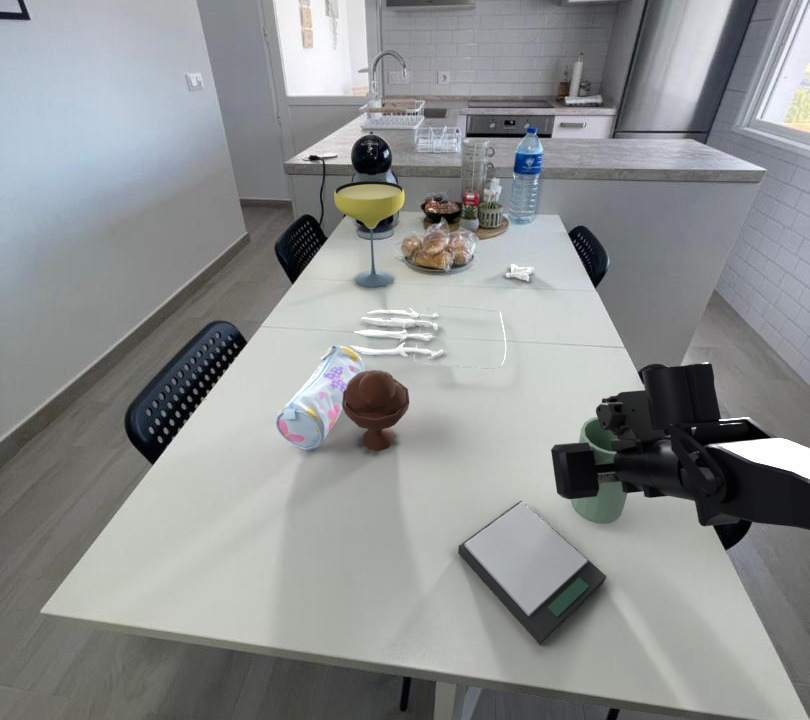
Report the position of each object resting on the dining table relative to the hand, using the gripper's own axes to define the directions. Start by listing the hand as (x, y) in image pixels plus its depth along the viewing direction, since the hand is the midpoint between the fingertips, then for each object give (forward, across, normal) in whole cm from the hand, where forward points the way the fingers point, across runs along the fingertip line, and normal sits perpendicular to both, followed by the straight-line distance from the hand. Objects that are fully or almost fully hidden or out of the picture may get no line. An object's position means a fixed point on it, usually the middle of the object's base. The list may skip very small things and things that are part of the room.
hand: (597, 460), depth 61 cm
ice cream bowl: (+18, +30, -5) cm, 35 cm away
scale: (0, +12, +13) cm, 17 cm away
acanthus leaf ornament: (+61, -16, -49) cm, 80 cm away
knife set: (+40, +16, -28) cm, 52 cm away
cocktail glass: (+63, +26, -51) cm, 85 cm away
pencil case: (+23, +38, -11) cm, 46 cm away
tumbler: (+4, -1, +6) cm, 7 cm away
